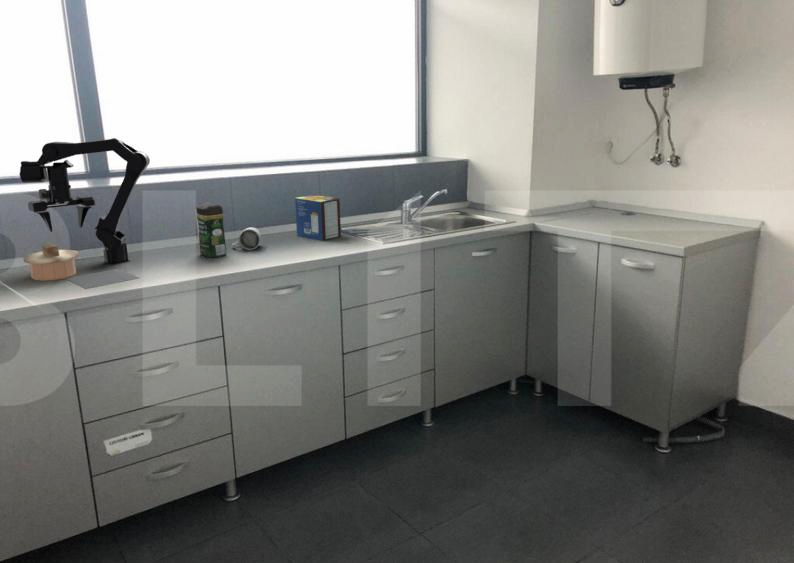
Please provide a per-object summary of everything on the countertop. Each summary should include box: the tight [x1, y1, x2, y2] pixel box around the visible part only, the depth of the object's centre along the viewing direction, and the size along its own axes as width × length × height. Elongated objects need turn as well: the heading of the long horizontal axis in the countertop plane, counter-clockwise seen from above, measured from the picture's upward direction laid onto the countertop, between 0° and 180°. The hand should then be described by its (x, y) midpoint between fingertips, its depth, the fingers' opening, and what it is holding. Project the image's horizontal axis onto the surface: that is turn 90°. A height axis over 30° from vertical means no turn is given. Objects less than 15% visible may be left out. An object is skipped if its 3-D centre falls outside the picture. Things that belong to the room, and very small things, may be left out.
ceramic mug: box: [231, 226, 262, 251], centre depth 233 cm, size 11×8×8 cm
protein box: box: [294, 194, 342, 241], centre depth 251 cm, size 10×15×16 cm
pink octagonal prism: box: [28, 258, 77, 282], centre depth 196 cm, size 12×12×6 cm
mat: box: [65, 268, 140, 290], centre depth 193 cm, size 16×16×1 cm
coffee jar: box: [195, 201, 227, 258], centre depth 221 cm, size 10×8×19 cm
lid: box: [23, 243, 79, 264], centre depth 195 cm, size 15×15×4 cm
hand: (66, 229), depth 207 cm, fingers open, 9 cm apart
